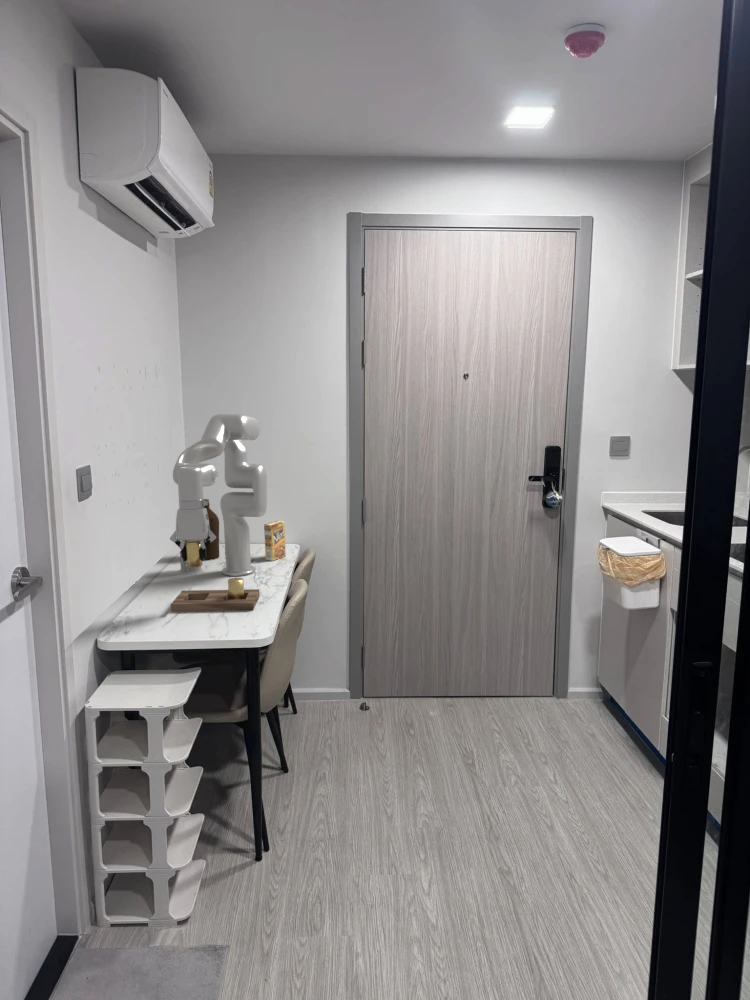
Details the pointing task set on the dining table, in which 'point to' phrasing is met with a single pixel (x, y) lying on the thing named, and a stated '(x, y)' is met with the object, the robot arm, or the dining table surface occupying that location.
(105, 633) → the dining table surface
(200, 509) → the robot arm
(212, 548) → the olive oil
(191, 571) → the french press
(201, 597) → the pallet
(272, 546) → the candy box
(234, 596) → the seated billet
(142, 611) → the dining table surface
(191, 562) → the billet
